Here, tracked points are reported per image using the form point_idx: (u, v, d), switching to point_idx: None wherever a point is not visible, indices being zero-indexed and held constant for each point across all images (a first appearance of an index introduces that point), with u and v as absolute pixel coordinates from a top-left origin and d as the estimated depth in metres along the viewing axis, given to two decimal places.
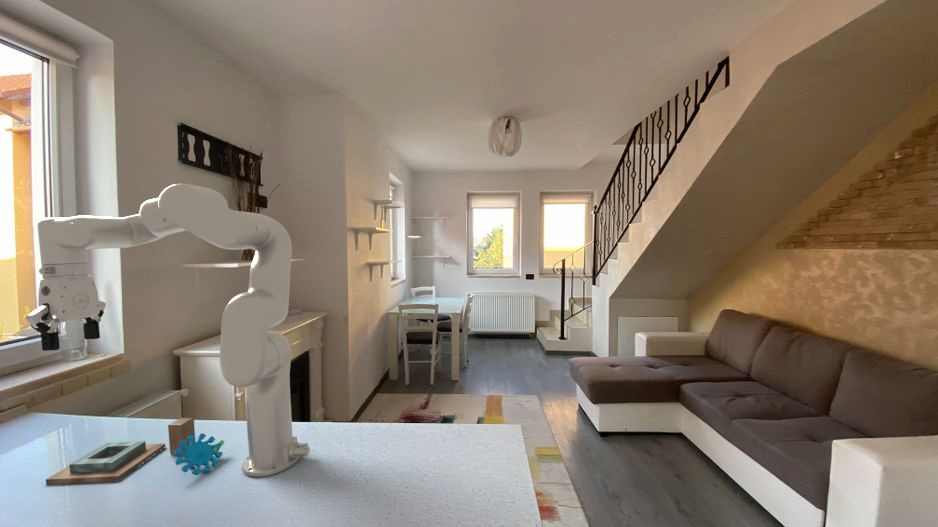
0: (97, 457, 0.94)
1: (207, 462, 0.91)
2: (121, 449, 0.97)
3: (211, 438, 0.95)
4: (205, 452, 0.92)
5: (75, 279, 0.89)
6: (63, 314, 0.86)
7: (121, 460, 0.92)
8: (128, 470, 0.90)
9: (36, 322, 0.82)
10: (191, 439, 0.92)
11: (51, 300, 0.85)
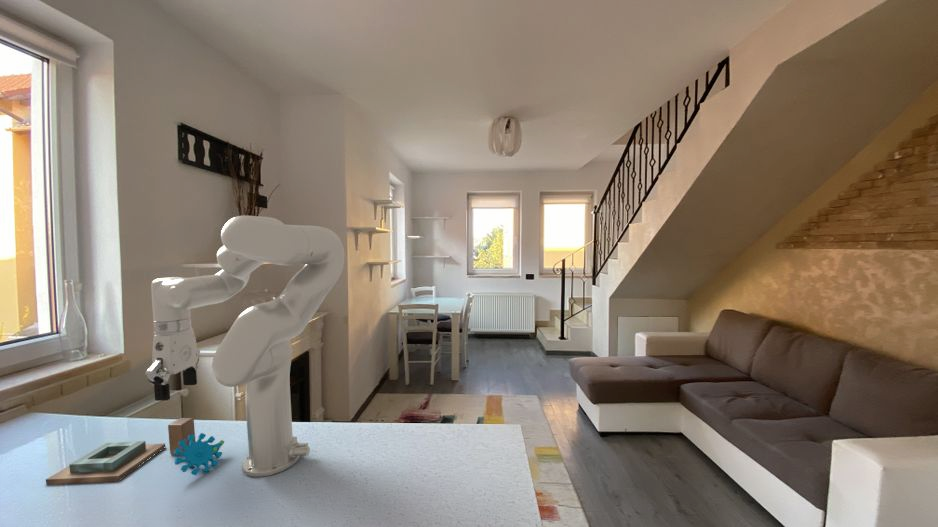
0: (97, 457, 0.94)
1: (207, 462, 0.91)
2: (121, 449, 0.97)
3: (211, 438, 0.95)
4: (205, 452, 0.92)
5: (182, 333, 0.97)
6: (174, 367, 0.94)
7: (121, 460, 0.92)
8: (128, 470, 0.90)
9: (153, 376, 0.90)
10: (191, 439, 0.92)
11: (164, 355, 0.93)
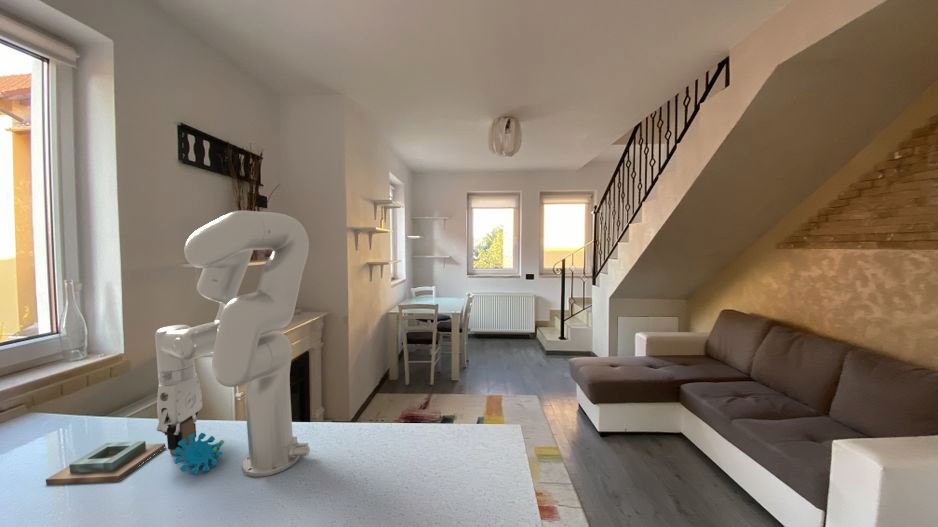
0: (97, 457, 0.94)
1: (206, 462, 0.91)
2: (121, 449, 0.97)
3: (211, 438, 0.95)
4: (204, 452, 0.92)
5: (186, 381, 0.98)
6: (178, 416, 0.95)
7: (121, 460, 0.92)
8: (128, 470, 0.90)
9: (166, 428, 0.94)
10: (191, 438, 0.92)
11: (169, 405, 0.94)
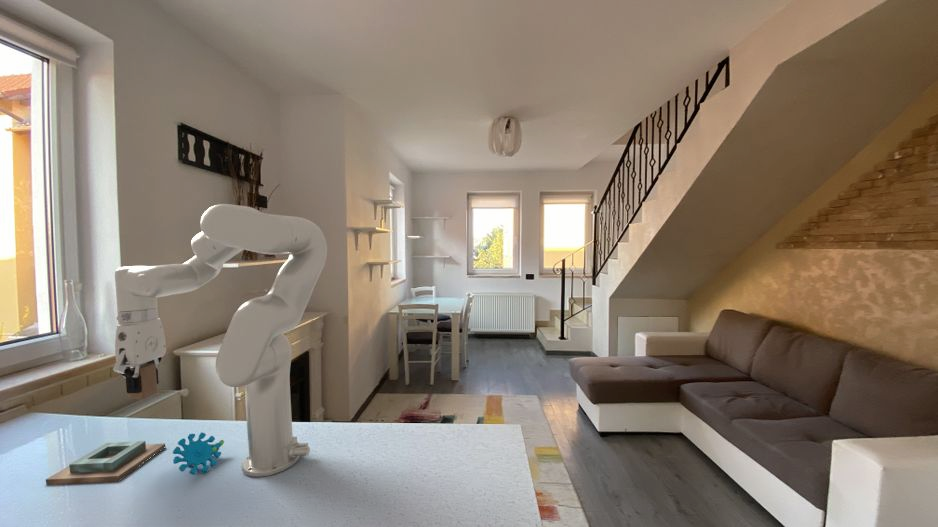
0: (97, 457, 0.94)
1: (205, 462, 0.91)
2: (121, 449, 0.97)
3: (211, 437, 0.95)
4: (204, 452, 0.92)
5: (147, 324, 0.94)
6: (137, 358, 0.91)
7: (121, 460, 0.92)
8: (128, 470, 0.90)
9: (124, 369, 0.90)
10: (191, 438, 0.92)
11: (127, 345, 0.90)
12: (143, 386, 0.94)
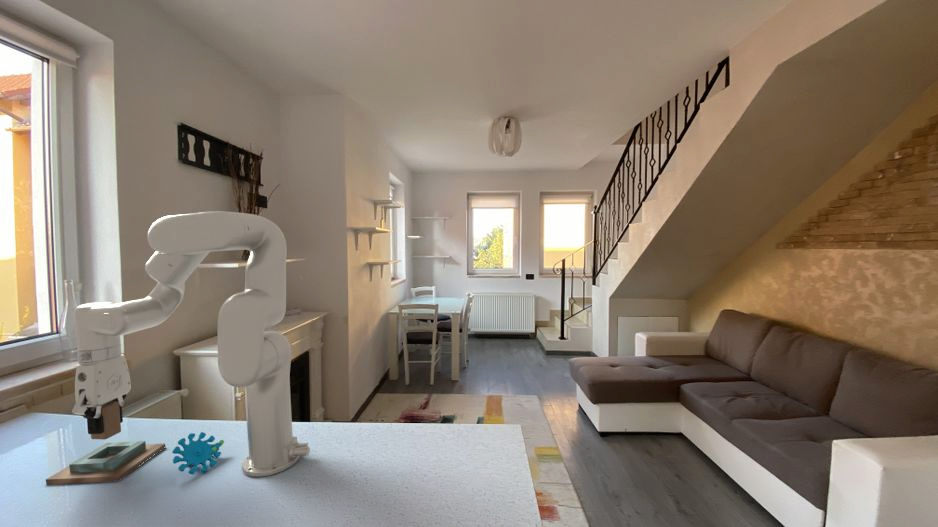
0: (97, 457, 0.94)
1: (205, 462, 0.91)
2: (121, 449, 0.97)
3: (211, 437, 0.96)
4: (203, 451, 0.92)
5: (109, 362, 0.92)
6: (98, 398, 0.89)
7: (121, 460, 0.92)
8: (128, 470, 0.90)
9: (84, 410, 0.88)
10: (191, 438, 0.92)
11: (87, 386, 0.88)
12: (105, 426, 0.92)
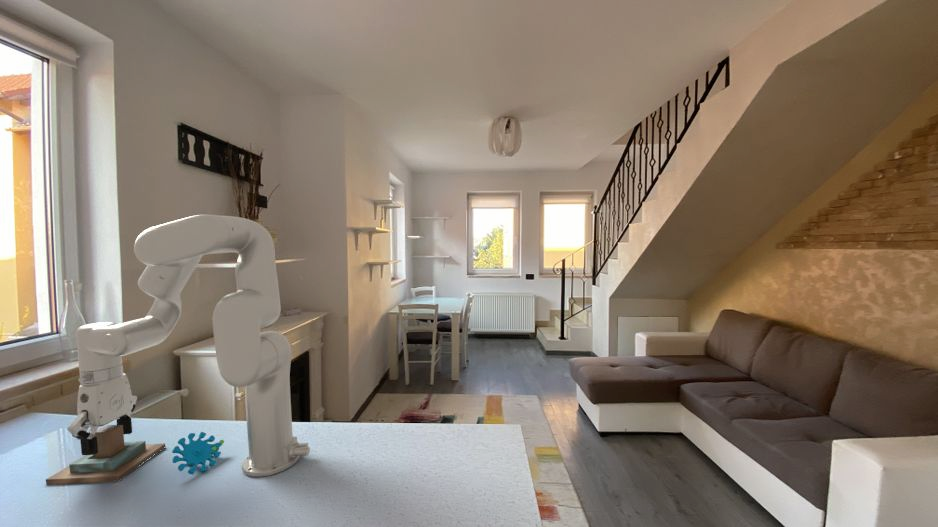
0: None
1: (204, 462, 0.91)
2: None
3: (211, 437, 0.96)
4: (203, 451, 0.92)
5: (111, 382, 0.92)
6: (101, 419, 0.89)
7: (121, 460, 0.92)
8: (128, 470, 0.90)
9: (77, 431, 0.86)
10: (191, 437, 0.93)
11: (89, 407, 0.88)
12: (110, 450, 0.92)
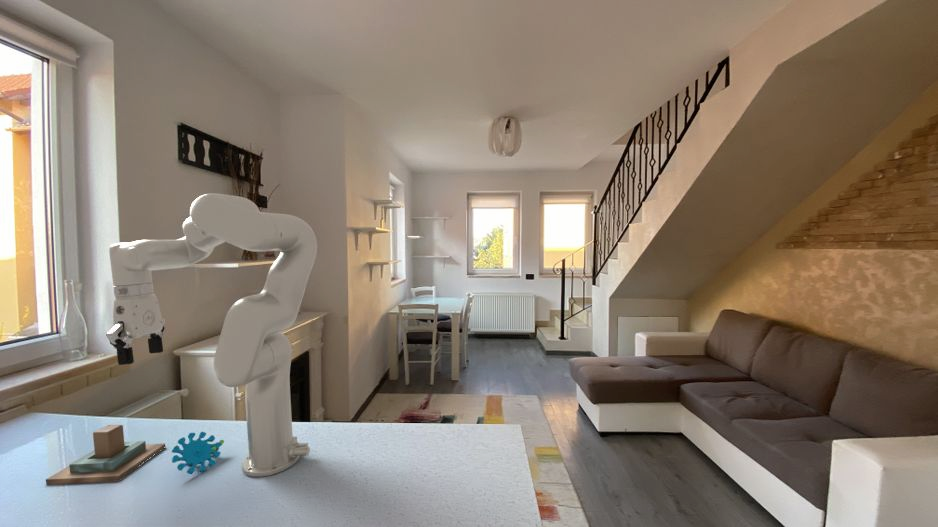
0: None
1: (204, 462, 0.91)
2: None
3: (211, 437, 0.96)
4: (203, 451, 0.92)
5: (144, 298, 0.97)
6: (136, 330, 0.94)
7: (121, 460, 0.92)
8: (128, 470, 0.90)
9: (115, 339, 0.90)
10: (191, 437, 0.93)
11: (125, 318, 0.93)
12: (110, 450, 0.92)
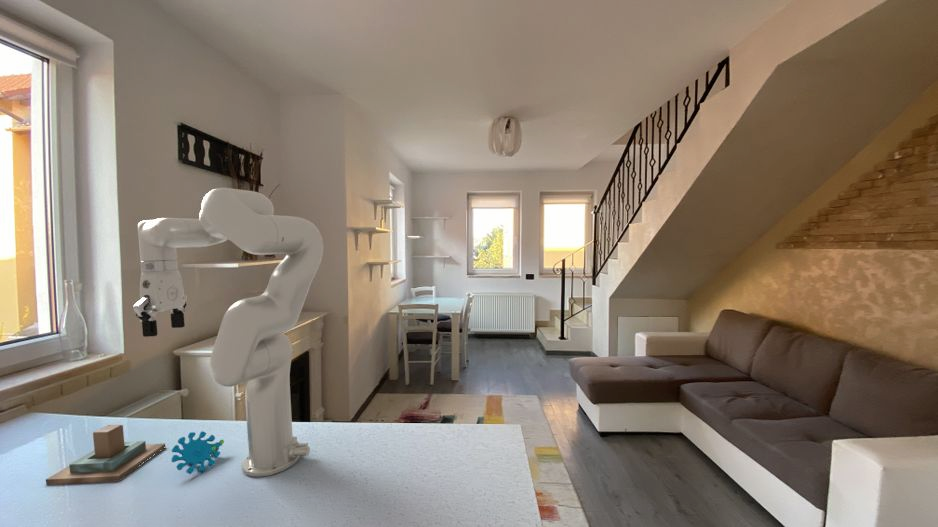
0: None
1: (203, 461, 0.91)
2: None
3: (211, 437, 0.96)
4: (202, 451, 0.92)
5: (168, 274, 1.01)
6: (160, 305, 0.98)
7: (121, 460, 0.92)
8: (128, 470, 0.90)
9: (140, 311, 0.94)
10: (191, 437, 0.93)
11: (151, 292, 0.97)
12: (110, 450, 0.92)
